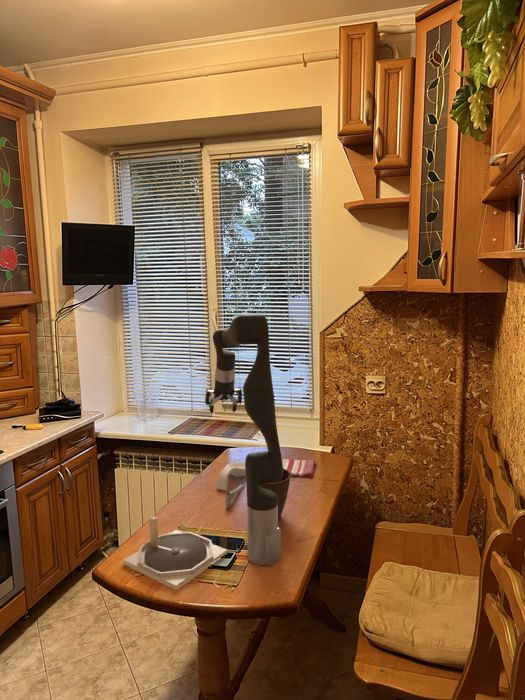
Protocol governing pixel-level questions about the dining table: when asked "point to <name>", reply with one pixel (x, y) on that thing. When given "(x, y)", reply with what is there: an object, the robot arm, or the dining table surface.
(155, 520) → the dial
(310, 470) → the dish towel
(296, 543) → the dining table surface
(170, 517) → the dining table surface
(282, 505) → the plant pot
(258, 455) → the robot arm
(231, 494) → the caliper
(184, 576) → the dial plate
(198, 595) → the dining table surface
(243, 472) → the spoon rest
